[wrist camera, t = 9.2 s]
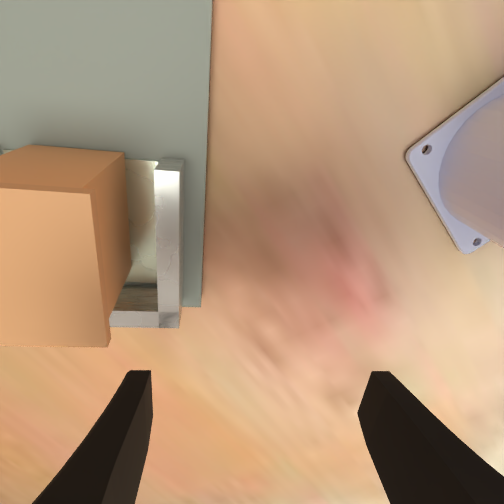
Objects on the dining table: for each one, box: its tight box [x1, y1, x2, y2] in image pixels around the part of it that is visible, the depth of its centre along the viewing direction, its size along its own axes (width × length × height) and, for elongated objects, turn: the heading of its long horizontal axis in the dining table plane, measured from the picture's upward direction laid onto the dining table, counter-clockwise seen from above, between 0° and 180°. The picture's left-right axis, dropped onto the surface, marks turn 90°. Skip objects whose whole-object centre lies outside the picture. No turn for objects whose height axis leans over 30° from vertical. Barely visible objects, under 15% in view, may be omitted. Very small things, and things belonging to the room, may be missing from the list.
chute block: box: [0, 144, 132, 347], centre depth 14 cm, size 6×5×6 cm
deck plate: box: [0, 0, 213, 307], centre depth 16 cm, size 16×11×1 cm
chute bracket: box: [0, 149, 185, 328], centre depth 16 cm, size 8×9×2 cm
